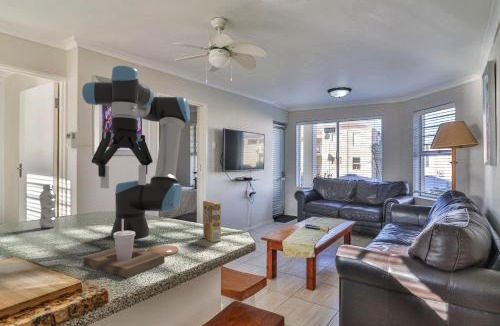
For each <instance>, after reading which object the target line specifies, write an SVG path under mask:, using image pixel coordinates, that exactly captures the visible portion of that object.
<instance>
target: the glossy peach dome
mask: <svg viewBox="0 0 500 326" xmlns="http://www.w3.org/2000/svg"><path fill="white" fill-rule="evenodd" d="M179 249H180V248H179V247H177V246H175V245H168V244H167V245H166V244H165V245H164V244H163V245H157V246H152V247H149V248H147V249H146V250H145V251H149V252H153V253H158V254H162V255H164V257H168V256H169V257H170V256H173V255H176V254H178V252H179V251H180V250H179Z"/></svg>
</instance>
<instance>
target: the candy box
mask: <svg viewBox="0 0 500 326" xmlns="http://www.w3.org/2000/svg"><path fill="white" fill-rule="evenodd" d="M221 205H222V203H221V202H218V201H214V200H203V201H202V211H203V212H202V229H203V230H202V233H203V235H202V236H203V238H204V239H206V240H207V241H210V242H211V243H216V242H221V241H222V240H221V239H222V236H221V234H222V231H221V230H222V228H221V227H222V225H221V222H222V218H221V217H222V215H221V208H222V207H221Z"/></svg>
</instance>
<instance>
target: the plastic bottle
mask: <svg viewBox="0 0 500 326" xmlns="http://www.w3.org/2000/svg"><path fill="white" fill-rule="evenodd" d="M53 186H54V184H43V186H42V189H43V190H42V191H41V192H40V194H39V196H38V198H39V199H38V200H39V203H40V217H39V218H40V219H39V227H40V228H42V229H51V228H55V227H56V226H57V223H58V222H57V221H58V220H57V216H56V201H57V194H56V192H55V191H54V187H53Z"/></svg>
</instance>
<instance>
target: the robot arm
mask: <svg viewBox="0 0 500 326" xmlns="http://www.w3.org/2000/svg"><path fill="white" fill-rule="evenodd" d="M81 90H82V94H81V95H82V99H83V100H84V101H85V103H86V104H88V105H94V106H98V105H99V106H100V105H101V106H104V107H105V106H106V107H108V108H109V107H110V108H111V116H112V118H111V130H112V132H111V131H102V134H101V140H100V142H99V144H98V146H97V148H96V150H95V152H94V154H93V157H92V159H91V163H92V164H95V165H96V166H97V167H98V170H97V171H98V177H100V189H110V166H109V165H108V163H109V161H110V160H111V159H112V157H114V155H115V154H116V152H118V150H119V149H129V150H131V152H132V153H133V155H134V156H135V158H136V159H137V161H138V162H139V165H138V179H137V180H131V181H124V182H123V181H122V182H119V183H117V184H116V186H115V194H114V196H115V219H114V222H113V225H112V229H111V230H110V238H111V239H113V240H115V238H113V234H114V233H116V232H119V231H122V219H124V231H134V232H135V236H134V240H137V239H142V238H145V237H147V236H149V235H150V226H149V225H148V222H147V221H148V220H147V218H146V212H163V213H166V212H174V211H175V210H177V209H178V208H179V205H180V203H181V200H182V195H183V192H182V191H183V187H182V185H181V184H180V183H179V180H178V179H177V177H176V175H177V167H178V158H179V153H180V152H179V151H180V144H181V143H180V142H181V133H182V129H184V128H185V126H186V123H188V122H190V120H191V111H190V105H189V102H188V99H187V98H186V97H184V96H154V91H153V90H152V89H151V88H150V87H149V85H147V84H145V83H143V82H142V81H140V80H139V72H138V70H137V69H136V68H135V67H133V66H129V65H116V66H114V67H113V68H112V70H111V81H110V82H109V81H102V82H99V81H92V82H86V83H84V85H83V86H82V89H81ZM137 118H139V119H143V120H146V121H151V122H153V123H154V122H155V123H157V122H158V123H159V125H160V126H161V131H160V132H161V133H160V139H159V146H158V152H157V159H156V160H157V161H156V167H155V173H154V175H152V176H151V177H150V182H149V183H147V175H148V166H150V165H151V164H153V162H154V161H153V158H152V155H151V153H150V150H149V148H148V147H149V146H148V144H147V142H146V135H145V134H138V133H137V131H138V130H139V120H138V119H137ZM111 140H113V141H112V142H111ZM110 142H111V143H110Z"/></svg>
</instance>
